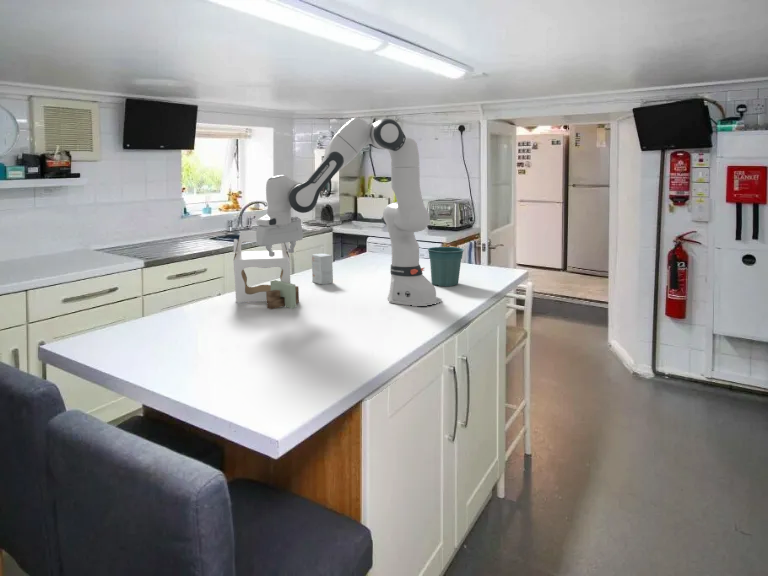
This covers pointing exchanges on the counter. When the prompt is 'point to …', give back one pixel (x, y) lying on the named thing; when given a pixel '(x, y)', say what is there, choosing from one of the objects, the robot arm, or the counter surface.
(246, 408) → the counter surface
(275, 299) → the upright
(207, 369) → the counter surface
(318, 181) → the robot arm
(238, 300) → the gable box
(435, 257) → the flower pot
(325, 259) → the small box
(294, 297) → the crosspiece
